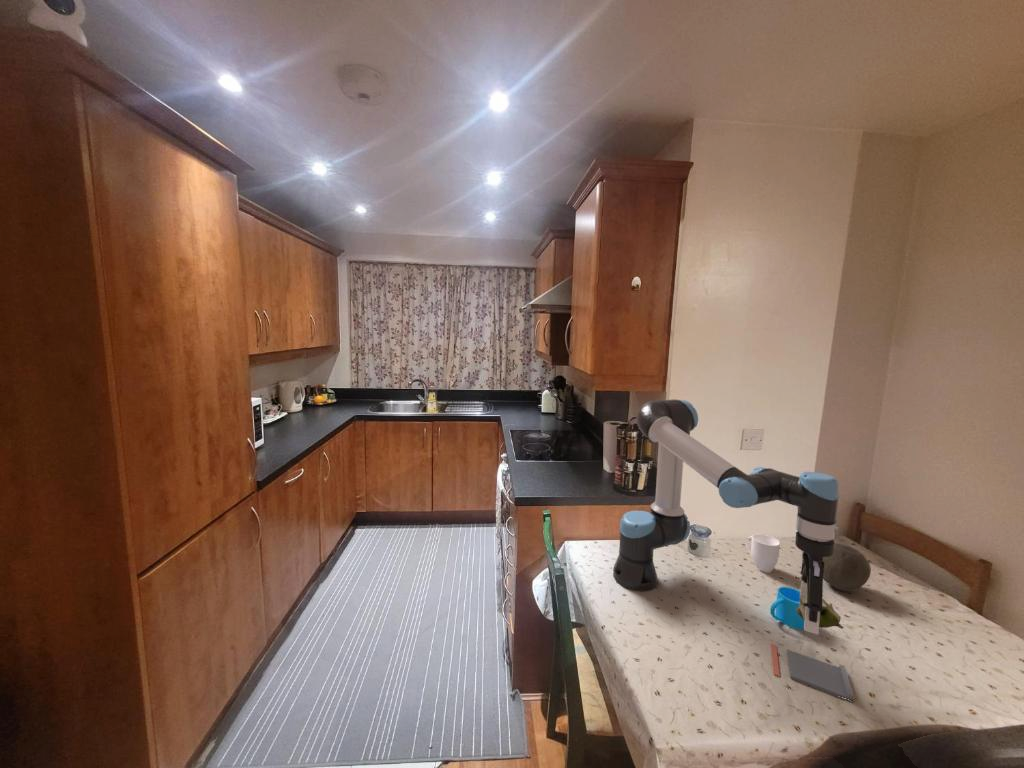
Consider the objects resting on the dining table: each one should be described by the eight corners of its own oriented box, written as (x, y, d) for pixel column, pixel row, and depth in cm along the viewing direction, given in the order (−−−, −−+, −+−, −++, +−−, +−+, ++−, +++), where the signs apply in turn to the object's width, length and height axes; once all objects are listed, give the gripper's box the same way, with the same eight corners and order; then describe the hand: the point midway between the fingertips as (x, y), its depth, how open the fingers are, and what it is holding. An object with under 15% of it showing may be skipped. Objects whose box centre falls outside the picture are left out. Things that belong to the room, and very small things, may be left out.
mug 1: (783, 572, 141) (785, 542, 139) (766, 578, 138) (769, 547, 136) (753, 556, 152) (755, 528, 150) (737, 560, 149) (739, 532, 147)
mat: (790, 678, 95) (791, 672, 95) (786, 651, 104) (787, 645, 104) (853, 702, 89) (854, 695, 89) (843, 672, 98) (844, 665, 97)
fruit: (831, 645, 89) (826, 613, 89) (789, 622, 98) (784, 594, 97) (852, 626, 93) (847, 596, 92) (809, 606, 102) (805, 579, 101)
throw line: (773, 674, 96) (773, 673, 96) (771, 643, 107) (771, 642, 107) (779, 677, 96) (779, 675, 96) (776, 645, 106) (776, 644, 106)
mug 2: (790, 609, 121) (792, 585, 120) (814, 627, 113) (817, 602, 112) (758, 613, 119) (760, 589, 118) (781, 633, 111) (784, 607, 110)
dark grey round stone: (864, 606, 123) (869, 563, 122) (810, 585, 134) (814, 545, 132) (870, 588, 132) (874, 548, 131) (819, 570, 143) (823, 532, 141)
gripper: (843, 560, 83) (835, 654, 85) (826, 522, 102) (820, 599, 104) (800, 550, 87) (794, 640, 89) (792, 515, 106) (787, 590, 108)
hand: (808, 618), depth 96 cm, fingers closed on fruit, 10 cm apart
